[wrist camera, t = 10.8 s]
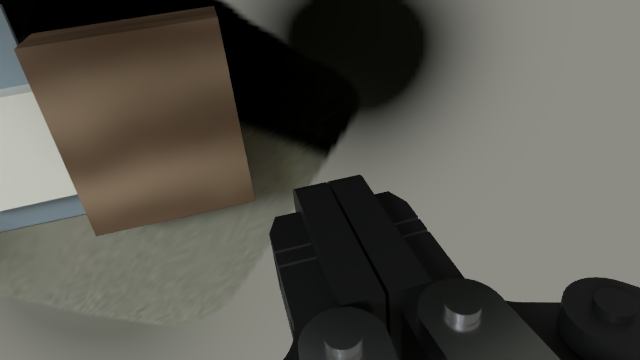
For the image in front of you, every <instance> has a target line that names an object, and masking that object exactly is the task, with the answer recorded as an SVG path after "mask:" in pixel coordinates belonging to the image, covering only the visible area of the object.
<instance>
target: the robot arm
mask: <svg viewBox="0 0 640 360" xmlns="http://www.w3.org/2000/svg"><path fill="white" fill-rule="evenodd" d="M293 196H294V203H295V210H296V212H295V213H291V214H287V215H282V216H278V217H275V219H274V222H273V225H272V228H271V230H270V233H269V235H270V240H271V245H272V250H273V255H274V260H275V265H276V270H277V275H278V280H279V286H280V290H281V294H282V298H283V302H284V305H285V310H286V313H287V317H288V321H289V325H290V329H291V333H292V337H293V343H292V346H291V348H290V350H289V352H288V354H287V355H286V357H285V358H284V359H283V360H640V288H639V287H636V286H633V285H630V284H627V283H624V282H620V281H617V280H613V279H608V278H597V277H595V278H584V279H580V280H577V281H575V282H573V283H571V284H570V285H569V286H568V287H566V289H565V291H564V293H563V296H562V300H561V303H545V302H544V303H541V302H540V303H537V302H527V303H526V302H510V301H505V300H504V299H503V298H502V297H501V296H500V295H499V294H498V293H497V292H496V291H495V290H493V289H492V288H490V287H489V286H487V285H485V284H483V283H480V282H477V281H475V280H470V279H465V278H464V277H463V275H462V274H461V273H460V271H459V270H458V269H457V268H456V266H455V265H454V263H453V262H452V261H451V260H450V258H449V257H448V256H447V254H446V253H445V252H444V250H443V249H442V248H441V246H440V245H439V244H438V242H437V241H436V240H435V238H434V237H433V236H432V235H431V233H430V232H428V231H427V228H426V227H425V226H424V224H423V223H422V221H421V220H420V219H418V216H417V215H416V214H415V212H414V211H413V210H412V208H411V207H410V206H409V204H408V203H407V202H406V201H404V200H403V199H401V198H399V197H397V196H396V195H393V194H392V193H390V192H389V191H387V192H383V193H378V194H374V193H373V192H372V190H371V189H370V187H369V186H368V185H367V183H366V182H365V180H364V178H363V177H362V176H361V175H356V176H351V177H347V178H342V179H338V180H333V181H329V182H327V183H320V184H315V185H311V186H306V187H302V188H297V189H293Z"/></svg>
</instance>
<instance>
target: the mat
mask: <svg viewBox="0 0 640 360" xmlns="http://www.w3.org/2000/svg"><path fill="white" fill-rule="evenodd" d="M18 45H19V43H18V41H17V38H16V36H15V34H14V31H13V29H12V27H11V25H10V22H9V20H8V18H7V15H6V13H5V11H4V8H3V6H2V4H1V5H0V89H5V88H10V87H15V86H21V85H26V84H29V83H28V81H27V78H26V76H25V74H24V72H23V69H22V67H21V65H20V62H19V60H18V58H17V56H16V53H15V51H14V48H16V47H17V46H18ZM82 214H86V212H85V210H84V208H83V205H82V203H81V201H80V198H79V196H78V194H76V195H72V196H67V197H63V198H58V199H54V200H49V201H45V202H40V203H36V204H31V205H27V206H22V207H18V208H13V209H8V210H4V211H0V232H2V231H7V230H11V229H16V228H21V227H25V226H30V225H35V224H39V223H44V222H49V221H53V220H58V219H63V218H68V217H72V216H77V215H82Z"/></svg>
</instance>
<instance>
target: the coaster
mask: <svg viewBox="0 0 640 360" xmlns="http://www.w3.org/2000/svg"><path fill="white" fill-rule="evenodd" d="M76 194H77V192H76V189H75V187H74V185H73V183H72V180H71V178H70V176H69V174H68V171H67V169H66V167H65V164H64V162H63V160H62V158H61V155H60V153H59V151H58V149H57V146H56V144H55V142H54V140H53V137H52V135H51V133H50V130H49V128H48V126H47V124H46V121H45V119H44V117H43V115H42V112H41V110H40V108H39V106H38V103H37V101H36V99H35V96H34V94H33V92H32V90H31V87H30V85H29V84H26V85H21V86H15V87H10V88H5V89H0V211H4V210H8V209H13V208H18V207H22V206H27V205H31V204H36V203H40V202H45V201H49V200H54V199H58V198H63V197H67V196H72V195H76Z"/></svg>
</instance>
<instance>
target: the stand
mask: <svg viewBox="0 0 640 360" xmlns="http://www.w3.org/2000/svg"><path fill="white" fill-rule="evenodd" d="M14 51H15V53H16V56H17V58H18V60H19V62H20V65H21V67H22V69H23V72H24V74H25V76H26V78H27V81H28V83H29V85H30V87H31V90H32V92H33V94H34V96H35V99H36V101H37V103H38V106H39V108H40V110H41V112H42V115H43V117H44V119H45V121H46V124H47V126H48V128H49V130H50V133H51V135H52V137H53V140H54V142H55V144H56V146H57V149H58V151H59V153H60V155H61V158H62V160H63V162H64V164H65V167H66V169H67V171H68V174H69V176H70V178H71V180H72V183H73V185H74V187H75V189H76V192H77V194H78V196H79V198H80V201H81V203H82V205H83V208H84V210H85V212H86V214H87V217H88V219H89V221H90V223H91V226H92V228H93V230H94V232H95V235H96V236H99V235H104V234H108V233H113V232H117V231H122V230H126V229H131V228H135V227H140V226H144V225H149V224H153V223H158V222H162V221H167V220H172V219H176V218H181V217H185V216H190V215H194V214H199V213H203V212H208V211H212V210H217V209H221V208H226V207H230V206H235V205H239V204H244V203H248V202H253V201H255V196H254V191H253V186H252V182H251V177H250V172H249V167H248V162H247V157H246V153H245V148H244V143H243V138H242V133H241V128H240V123H239V119H238V114H237V109H236V104H235V99H234V94H233V90H232V85H231V80H230V75H229V70H228V65H227V61H226V56H225V51H224V46H223V41H222V36H221V31H220V27H219V22H218V17H217V14H216V11H215V8H214V6H210V7H204V8H197V9H191V10H184V11H178V12H171V13H164V14H158V15H151V16H145V17H138V18H132V19H125V20H118V21H112V22H105V23H99V24H92V25H86V26H79V27H72V28H66V29H59V30H53V31H46V32H39V33H33V34H31V35H30V36H28V37H27V38H26V39H25V40H24V41H23V42H21V43H20V44H19V45H18V46H17V47H16V48H14Z"/></svg>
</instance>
